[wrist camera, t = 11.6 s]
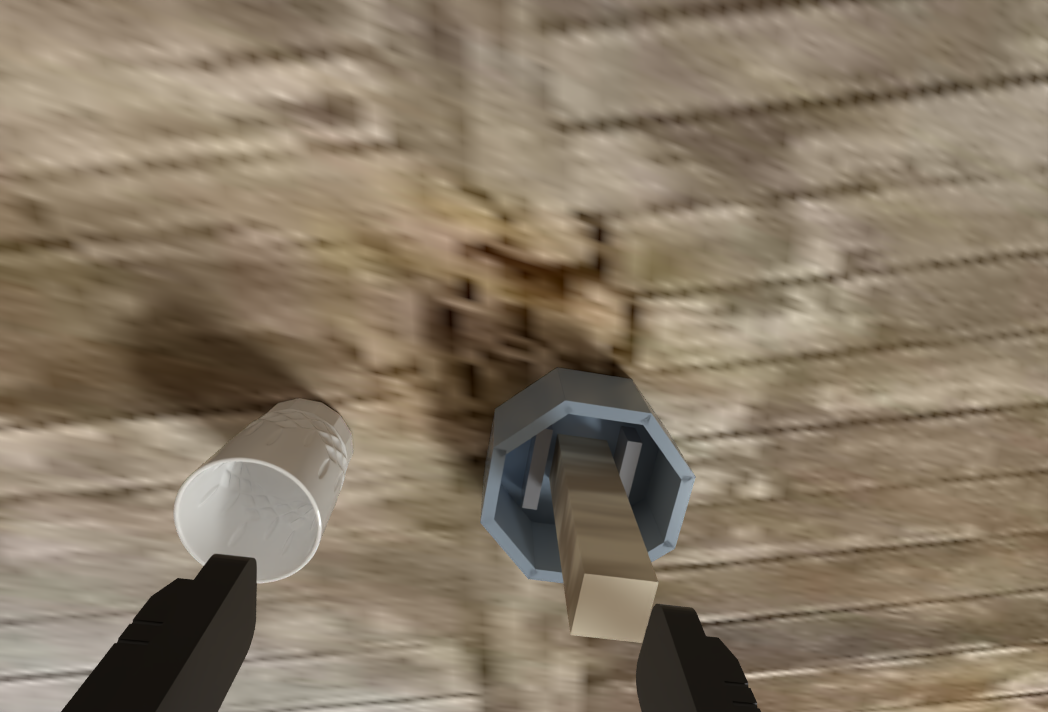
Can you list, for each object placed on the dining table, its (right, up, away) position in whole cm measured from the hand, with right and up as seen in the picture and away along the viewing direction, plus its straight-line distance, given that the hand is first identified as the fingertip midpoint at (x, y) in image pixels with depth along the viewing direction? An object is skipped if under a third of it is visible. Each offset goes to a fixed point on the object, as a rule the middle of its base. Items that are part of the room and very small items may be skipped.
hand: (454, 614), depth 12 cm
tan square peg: (+5, -2, +31) cm, 31 cm away
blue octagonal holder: (+5, -2, +31) cm, 32 cm away
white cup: (-14, -1, +30) cm, 33 cm away
